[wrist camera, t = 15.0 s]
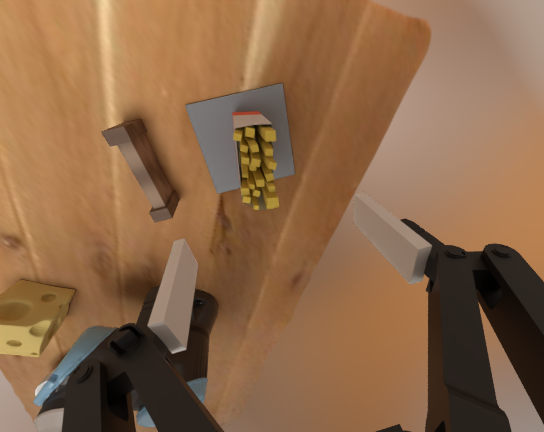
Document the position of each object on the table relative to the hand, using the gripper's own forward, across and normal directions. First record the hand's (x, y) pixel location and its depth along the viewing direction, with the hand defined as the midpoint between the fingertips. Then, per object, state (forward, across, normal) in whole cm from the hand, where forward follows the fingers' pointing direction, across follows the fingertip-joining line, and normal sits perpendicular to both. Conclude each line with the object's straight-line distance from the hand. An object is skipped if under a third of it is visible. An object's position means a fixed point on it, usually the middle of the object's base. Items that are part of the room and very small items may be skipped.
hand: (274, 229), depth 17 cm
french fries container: (+27, 0, 0) cm, 27 cm away
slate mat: (+28, 0, 0) cm, 28 cm away
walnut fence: (+28, +17, 0) cm, 32 cm away
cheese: (+28, +53, +23) cm, 64 cm away
